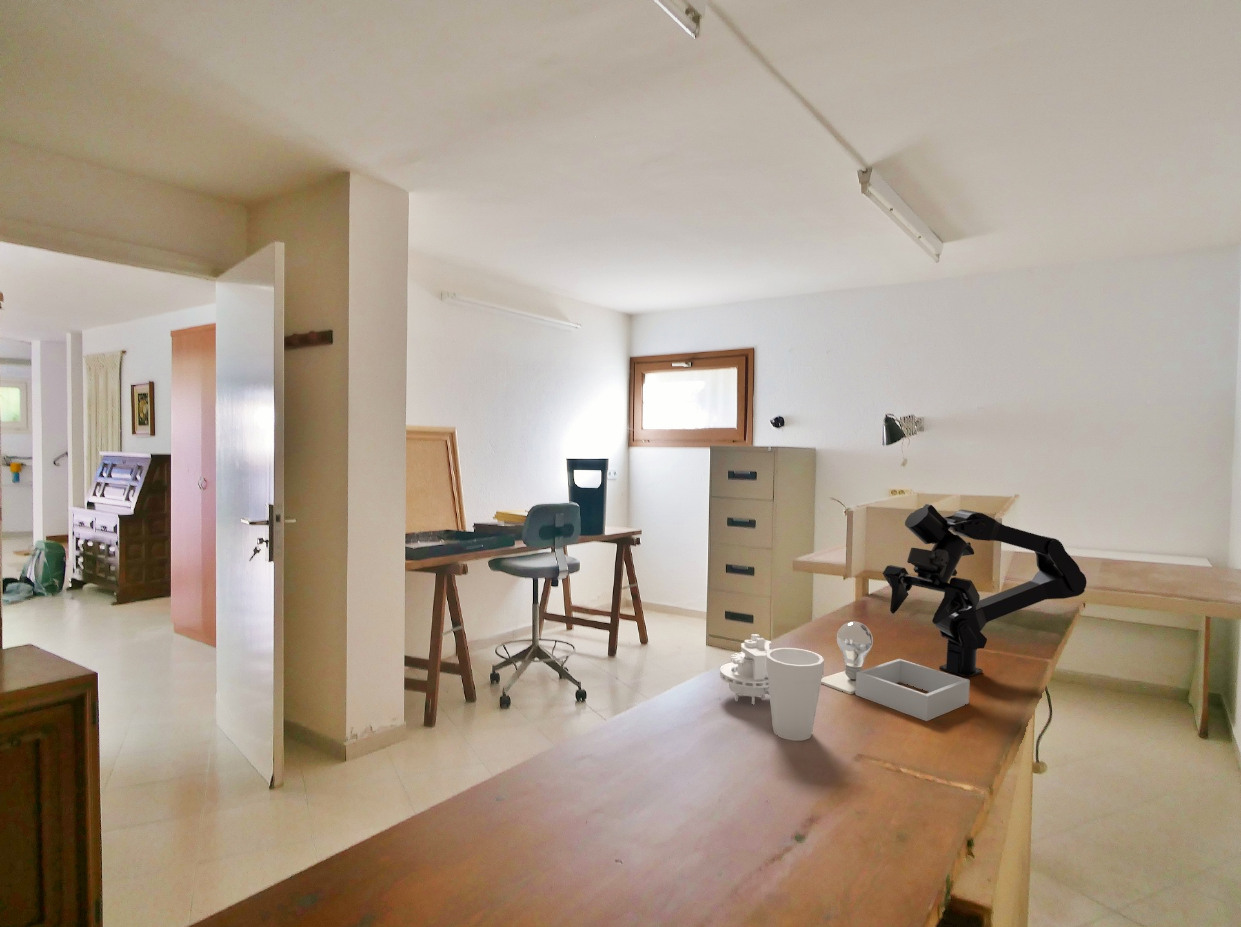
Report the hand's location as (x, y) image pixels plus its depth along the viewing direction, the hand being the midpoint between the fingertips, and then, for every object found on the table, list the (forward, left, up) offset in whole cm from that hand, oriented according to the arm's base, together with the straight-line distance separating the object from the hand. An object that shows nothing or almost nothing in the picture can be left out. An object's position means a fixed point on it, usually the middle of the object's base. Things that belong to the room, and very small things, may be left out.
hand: (912, 617), depth 141 cm
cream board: (+10, -7, -14) cm, 18 cm away
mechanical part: (+34, -12, -14) cm, 38 cm away
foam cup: (+39, +2, -14) cm, 41 cm away
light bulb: (+9, -7, -13) cm, 18 cm away
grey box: (+8, +5, -14) cm, 16 cm away
